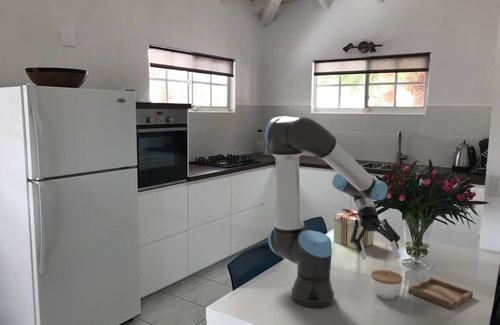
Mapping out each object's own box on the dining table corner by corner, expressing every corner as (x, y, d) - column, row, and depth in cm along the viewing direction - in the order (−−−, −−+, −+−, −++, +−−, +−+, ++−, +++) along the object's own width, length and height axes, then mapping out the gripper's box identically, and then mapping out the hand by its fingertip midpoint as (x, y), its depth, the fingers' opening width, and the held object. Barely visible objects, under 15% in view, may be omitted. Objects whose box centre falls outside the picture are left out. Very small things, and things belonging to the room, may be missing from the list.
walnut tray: (451, 309, 137) (452, 303, 137) (408, 292, 150) (409, 287, 150) (472, 297, 147) (472, 291, 147) (430, 282, 160) (430, 277, 159)
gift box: (327, 243, 206) (329, 210, 204) (349, 236, 217) (351, 205, 215) (355, 252, 193) (357, 217, 191) (377, 245, 205) (379, 212, 202)
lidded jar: (396, 290, 152) (398, 266, 151) (404, 303, 142) (406, 277, 140) (367, 288, 153) (369, 264, 152) (373, 301, 143) (375, 275, 141)
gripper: (390, 214, 171) (406, 261, 159) (335, 215, 167) (347, 263, 155) (398, 205, 165) (415, 253, 153) (340, 206, 161) (353, 255, 149)
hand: (381, 258), depth 154 cm, fingers open, 13 cm apart
